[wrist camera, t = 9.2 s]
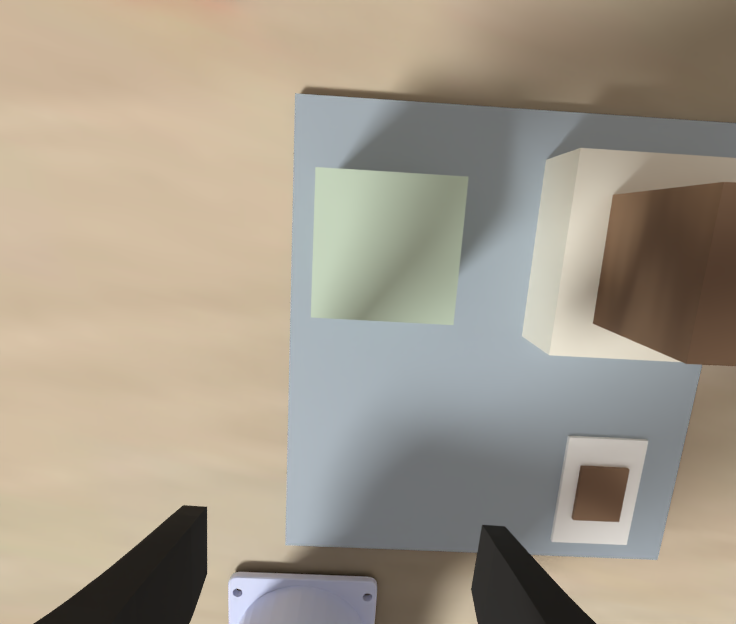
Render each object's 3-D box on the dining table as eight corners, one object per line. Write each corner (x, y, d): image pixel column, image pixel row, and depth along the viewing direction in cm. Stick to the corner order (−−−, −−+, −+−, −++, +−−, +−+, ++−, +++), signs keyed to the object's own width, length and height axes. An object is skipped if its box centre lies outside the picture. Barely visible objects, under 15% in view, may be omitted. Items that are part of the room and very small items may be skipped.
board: (651, 552, 23) (662, 565, 22) (287, 537, 23) (284, 550, 22) (747, 127, 19) (766, 122, 18) (297, 96, 18) (293, 90, 17)
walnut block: (715, 328, 17) (856, 370, 12) (592, 323, 17) (686, 364, 12) (742, 200, 16) (909, 190, 11) (612, 194, 16) (724, 181, 11)
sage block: (430, 299, 20) (453, 325, 15) (323, 294, 20) (310, 317, 15) (440, 188, 19) (468, 176, 14) (327, 182, 19) (315, 167, 14)
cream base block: (686, 345, 20) (740, 365, 17) (521, 336, 20) (549, 355, 17) (724, 171, 19) (791, 161, 16) (545, 159, 19) (580, 147, 16)
